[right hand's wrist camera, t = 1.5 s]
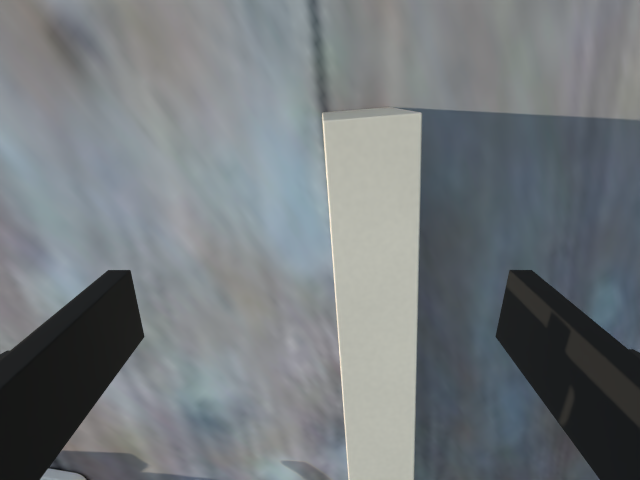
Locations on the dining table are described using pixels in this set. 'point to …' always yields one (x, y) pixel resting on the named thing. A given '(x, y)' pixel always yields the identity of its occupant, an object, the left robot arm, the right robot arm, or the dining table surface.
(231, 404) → the dining table surface
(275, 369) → the dining table surface
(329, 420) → the dining table surface
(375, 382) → the post
